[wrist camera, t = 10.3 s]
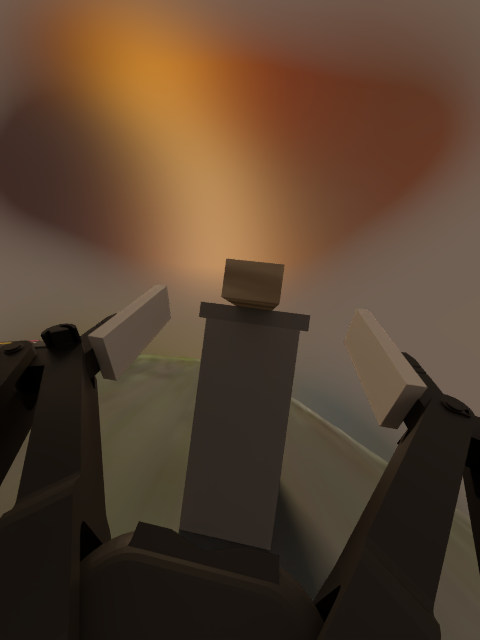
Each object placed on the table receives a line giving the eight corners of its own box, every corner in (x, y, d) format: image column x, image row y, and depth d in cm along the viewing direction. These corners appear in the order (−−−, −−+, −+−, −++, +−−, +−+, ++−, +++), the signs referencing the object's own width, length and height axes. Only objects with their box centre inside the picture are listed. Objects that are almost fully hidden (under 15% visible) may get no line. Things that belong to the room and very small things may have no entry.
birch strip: (279, 303, 17) (284, 264, 16) (221, 296, 17) (226, 258, 17) (267, 314, 44) (269, 299, 44) (245, 311, 45) (247, 297, 45)
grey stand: (278, 552, 27) (310, 315, 27) (171, 527, 29) (201, 301, 28) (271, 460, 45) (290, 317, 45) (206, 448, 47) (224, 309, 46)
